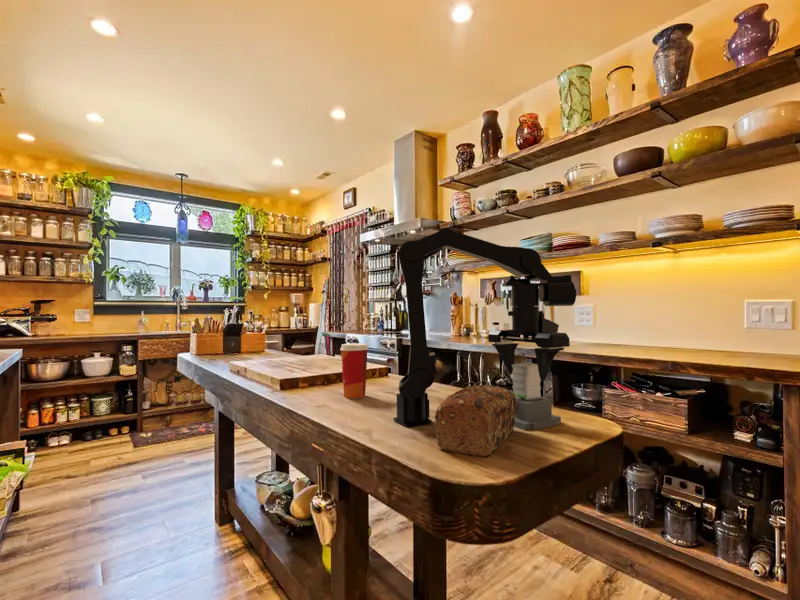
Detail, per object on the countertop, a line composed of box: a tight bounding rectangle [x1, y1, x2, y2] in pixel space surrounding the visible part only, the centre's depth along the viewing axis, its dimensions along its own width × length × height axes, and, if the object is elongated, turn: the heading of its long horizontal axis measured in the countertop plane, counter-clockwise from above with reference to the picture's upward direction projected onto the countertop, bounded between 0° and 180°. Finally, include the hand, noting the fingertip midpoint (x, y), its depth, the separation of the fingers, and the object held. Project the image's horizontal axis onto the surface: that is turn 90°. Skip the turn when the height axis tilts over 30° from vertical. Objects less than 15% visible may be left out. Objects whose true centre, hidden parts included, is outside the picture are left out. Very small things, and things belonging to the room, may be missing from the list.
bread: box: [434, 384, 516, 458], centre depth 77 cm, size 19×11×10 cm, turn 150°
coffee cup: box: [339, 342, 369, 399], centre depth 115 cm, size 8×8×15 cm
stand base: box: [514, 396, 562, 431], centre depth 88 cm, size 11×11×6 cm
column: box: [511, 362, 542, 402], centre depth 89 cm, size 5×4×8 cm
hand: (526, 377), depth 89 cm, fingers open, 9 cm apart
